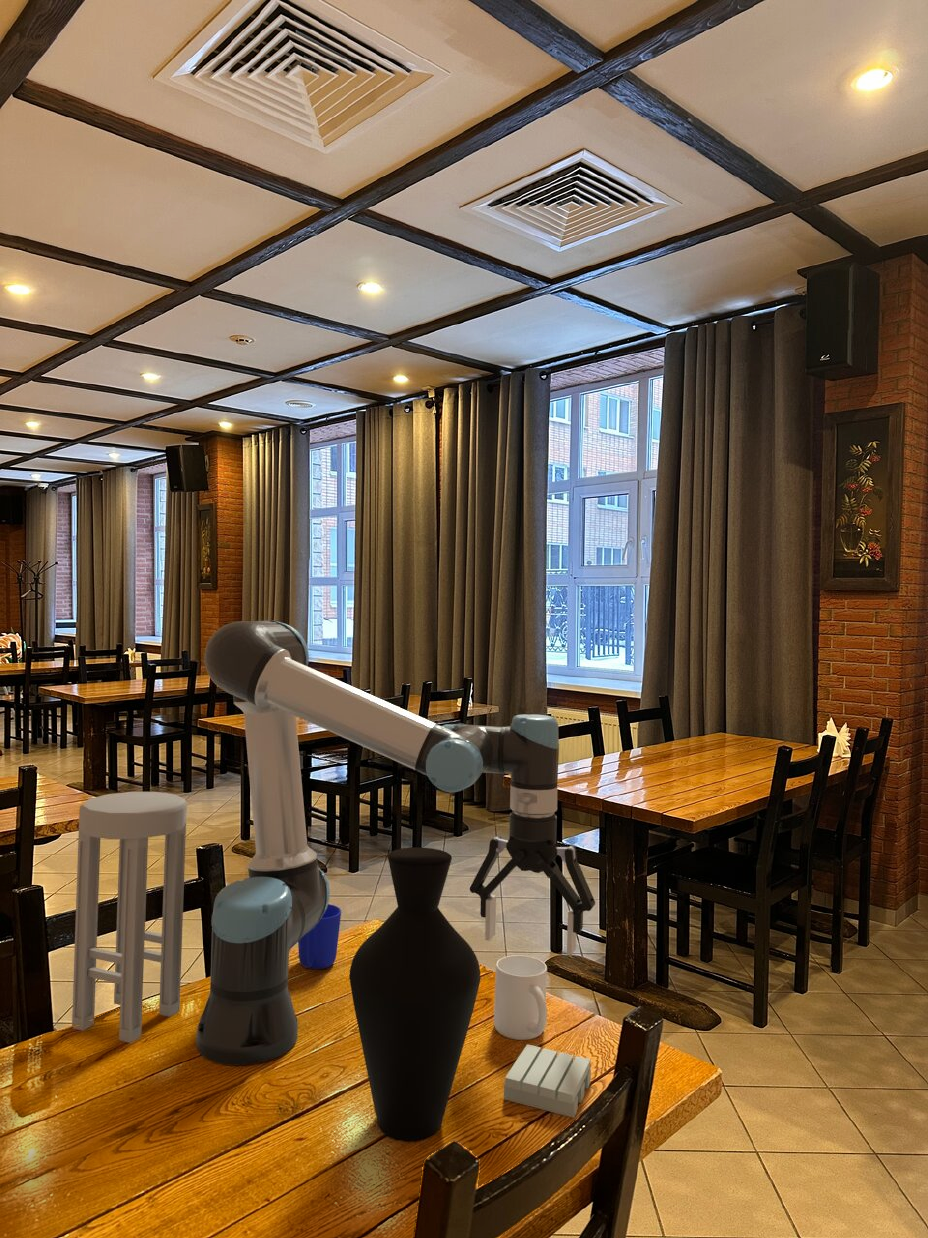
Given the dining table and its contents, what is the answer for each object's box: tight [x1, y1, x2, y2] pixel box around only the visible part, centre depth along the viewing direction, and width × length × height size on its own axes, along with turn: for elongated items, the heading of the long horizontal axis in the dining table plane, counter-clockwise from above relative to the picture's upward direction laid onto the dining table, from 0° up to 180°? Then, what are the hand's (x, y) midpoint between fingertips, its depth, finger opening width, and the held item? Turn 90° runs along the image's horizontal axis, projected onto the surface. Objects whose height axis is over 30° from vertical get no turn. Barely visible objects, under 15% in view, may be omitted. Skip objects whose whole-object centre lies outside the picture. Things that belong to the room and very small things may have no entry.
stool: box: [71, 791, 188, 1044], centre depth 135 cm, size 16×16×35 cm
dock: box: [503, 1044, 592, 1119], centre depth 120 cm, size 10×10×3 cm
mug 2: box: [493, 954, 548, 1041], centre depth 136 cm, size 12×8×10 cm
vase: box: [348, 847, 481, 1143], centre depth 111 cm, size 17×17×35 cm
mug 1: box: [297, 903, 342, 970], centre depth 157 cm, size 8×12×10 cm
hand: (529, 945), depth 135 cm, fingers open, 13 cm apart
